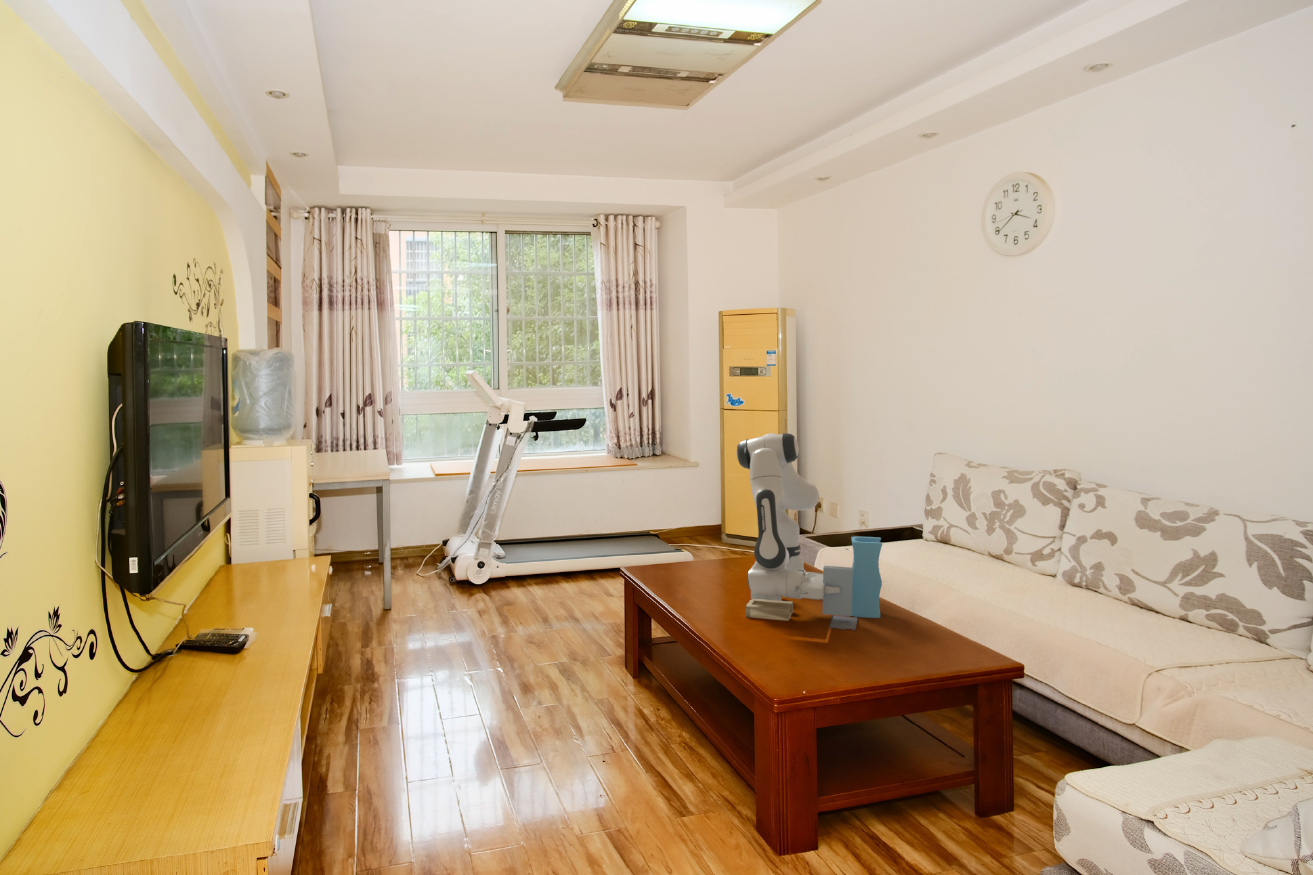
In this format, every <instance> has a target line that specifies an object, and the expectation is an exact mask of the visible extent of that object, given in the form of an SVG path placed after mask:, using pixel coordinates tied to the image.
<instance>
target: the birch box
mask: <svg viewBox="0 0 1313 875" xmlns="http://www.w3.org/2000/svg"><path fill="white" fill-rule="evenodd" d="M793 607H794V601H789V600H787V601H786V600H781V601H777V600H765V599H752V598H751V597H750V599H749V601H748V603H746V606H745V618H753V619H764V620H773V621H774V620H775V621H777V620H778V621H790V619H791V617H792V615H793V612H794V608H793Z"/></svg>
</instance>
